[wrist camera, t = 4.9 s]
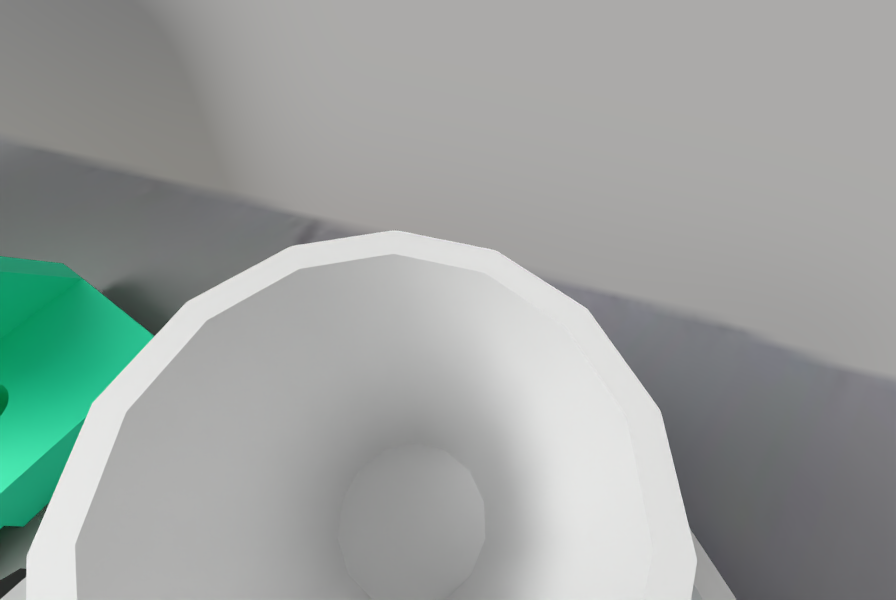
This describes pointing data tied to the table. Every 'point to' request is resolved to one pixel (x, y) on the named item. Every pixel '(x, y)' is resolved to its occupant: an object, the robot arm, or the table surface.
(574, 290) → the table surface
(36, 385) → the camera mount
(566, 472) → the foam cup
